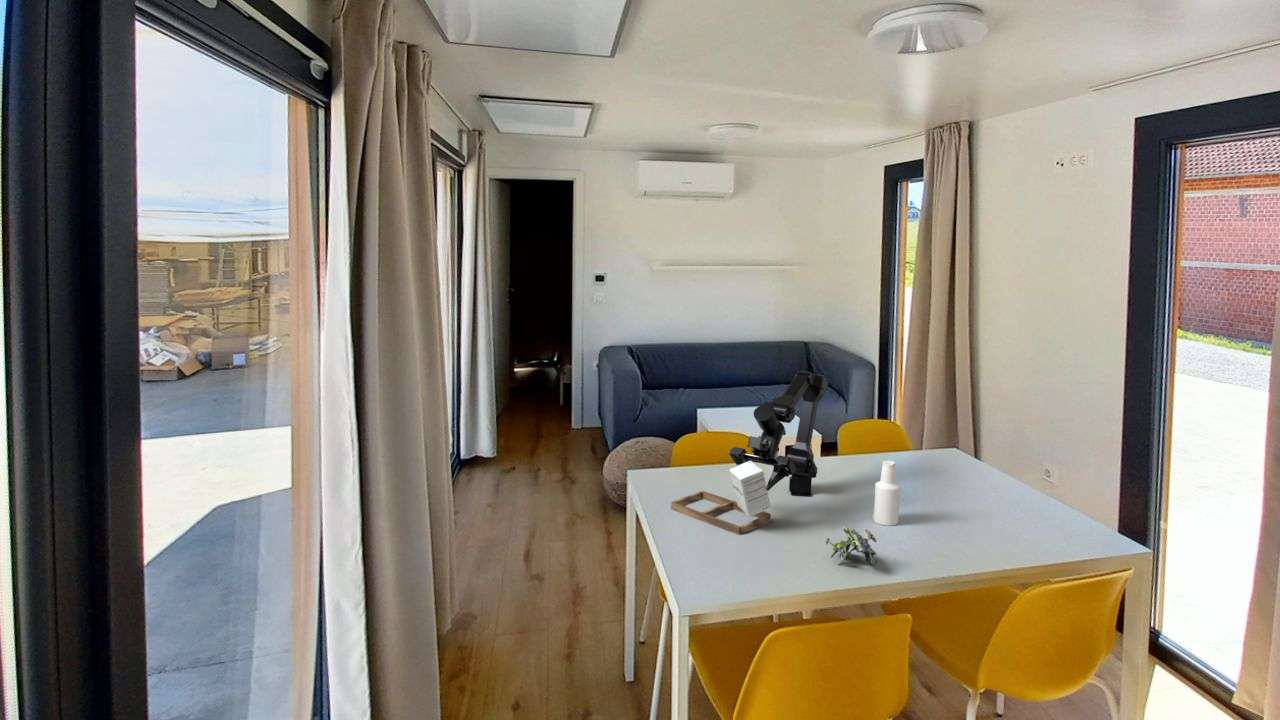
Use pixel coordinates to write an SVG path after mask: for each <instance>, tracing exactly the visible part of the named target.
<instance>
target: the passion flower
mask: <svg viewBox="0 0 1280 720" xmlns="http://www.w3.org/2000/svg"><path fill="white" fill-rule="evenodd" d="M842 528H843V532H844V533H845V534H846V536H847V537H846V540H845V541H844V540H840V541H839V542H836V543H832V542H831V541H830V540H831V539H830V538H829V537H827V538H826V540H825V544H826V545H829V544H831V545H832V546H833V548H832V550H833V552H832V554H831V556H830V558H831V559H832V558H833V557H834V556H835V555H836V554H837V553H839V552H840V560H839V562H838V564H837V565H838V566H840V565H841V564H842V562H844V561H845V560H846V559H848V557H849V555H850V554H851V553H852V552H853V551H856V553H862V554H863V555H864V557H865V562H866V563H867V565H868V566H871V567H873V566H874V564H878V563H879V560H878V559H876V557H877V554H878V553H877V552H876V551H875V550H874V549H873V548H872V547H871V544H869V541H870V540H872V541H873V542H875V543H877V542H878V541H877V539H876V538H875V536H874V534H873V533H871V532H870V531H869V530H868V529H865V532H866V534H867V535H868V537H866V538H865V537H864V538H863V536H862V535H861V534H860V532H858V531H857V530H856V529H855V528H852V529H851V528H849V527H848V528H847V529H846V526H843V527H842ZM850 547H852V548H851V549H850ZM873 563H874V564H873Z"/></svg>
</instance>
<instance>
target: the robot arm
mask: <svg viewBox="0 0 1280 720" xmlns="http://www.w3.org/2000/svg"><path fill="white" fill-rule="evenodd" d="M828 386H829V380H828V379H827V378H826V376H825V375H824V374H815V373H812V372H811V371H803V370H800V371H796V372H795V374H794V378H793V380H792V381H791V383H790V384H789V385H788V387H787V388H786V390H785V391H784V392H783V394H782V395H781V396H778V397H775V398H774V399H773V400H772V401H764V403H763V404H761V405H759V406H758V407H756V408H755V409H754V411H753V417H754V419H755V421H756V422H757V424H758V426H759V428H760V429H761V430H762V433H761V435H758V437H756V436H751V435H750V436H748V437H749V438H748V442H747V443H748V444H747V448H749V449H750V451H751V453H748V452H747V451H746V448H743V447H737V446H733V447H732V448H731V449H730V451H729V453H728V454H729V456H730V458H731V459H732V461H733V462H734V463H735V467H736V466H738V465H741V464H743V463H745V462H748V461H752V462H753V463H758V464H762V465H767V466H771V467H772V466H773V467H772V468H773V469H772V473H771V475H770V478H769V480H768V482H767V483H766V490H767V491H770V490H771V489H772V488H773V487H774V486H775V485H777V484H778V483H779V482H780V481H782V480H784V478H785V477H787V478H788V477H789V480H788V481H789V484H788V485H789V486H788V490H789V492H790V495H791V496H799V497H803V496H804V497H812V495H813V494H812V483H813V482H812V479H815V478H817V475H818V467H817V465H816V463H815V461H814V458H815V456H814V452H813V450H812V447H811V445H812V439H813V433H814V432H813V431H814V429H815V421H816V417H817V416H816V415H817V411H818V405H819V402H820V401H821V400H822V398H824V397H825V395H826V390H827V389H828ZM801 398H802V405H801V410H800V415H799V422H798V427H797V432H796V433H797V434H796V439H795V443H794V444H793V446H791V447H789V448H788V449H787V454H786V455H787V456H785V455H784V456H783V455H777V457H776V458H775V456H776V454H777V452H778V453H779V451H780V448H779V446H780V444H781V441H782V438H783V436H786V428H785V426H784V424H791V423H792V422H793V420H794V419H795V417H796V413H797V412H796V411H797V410H796V406H797V404H798V403H799V401H801ZM783 423H784V424H783Z"/></svg>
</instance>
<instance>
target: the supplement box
mask: <svg viewBox="0 0 1280 720" xmlns="http://www.w3.org/2000/svg"><path fill="white" fill-rule="evenodd" d="M728 471H729V474H730V479H731V483H732V488H733V491H734V497H735V502H737V505H738V507H740V508H741V509H742V510H743V511H744V512H745V513H744V512H743V513H744V514H746V516H748V517H749V518H751V517H754V516H753V515H756V514H758V513H760V512H763V511H764V512H766V511H767V510H769V509H771V508H772V506H771V501H770V497H769V492H768V491H767V490H766V487H767V483H766V477H765V474H764V470H763V469H762V468H761V467H759V466H758V465H757V464H756V463H755V462H752V461H748V462H745V463H743V464H741V465H738V466H736V465H735V466H734V467H731V468H730V469H729V470H728Z"/></svg>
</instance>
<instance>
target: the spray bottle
mask: <svg viewBox="0 0 1280 720" xmlns="http://www.w3.org/2000/svg"><path fill="white" fill-rule="evenodd" d="M880 473H881V475H880V480H879V481H877V482H875V483H874V500H873V517H872V520H873V522H875V523H876V524H878V525H882V526H886V527H887V526H888V527H891V526H892V527H893V526H896V525H897V524H898V523H899V513H900V512H899V511H900V498H901V497H900V496H901V485H900V484H899V483H897V482H896V480H897V476H896V475H897V474H896V473H897V470H896V462H895V461H893V460H888V459H887V460H883V462H882V468H881V472H880Z"/></svg>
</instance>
